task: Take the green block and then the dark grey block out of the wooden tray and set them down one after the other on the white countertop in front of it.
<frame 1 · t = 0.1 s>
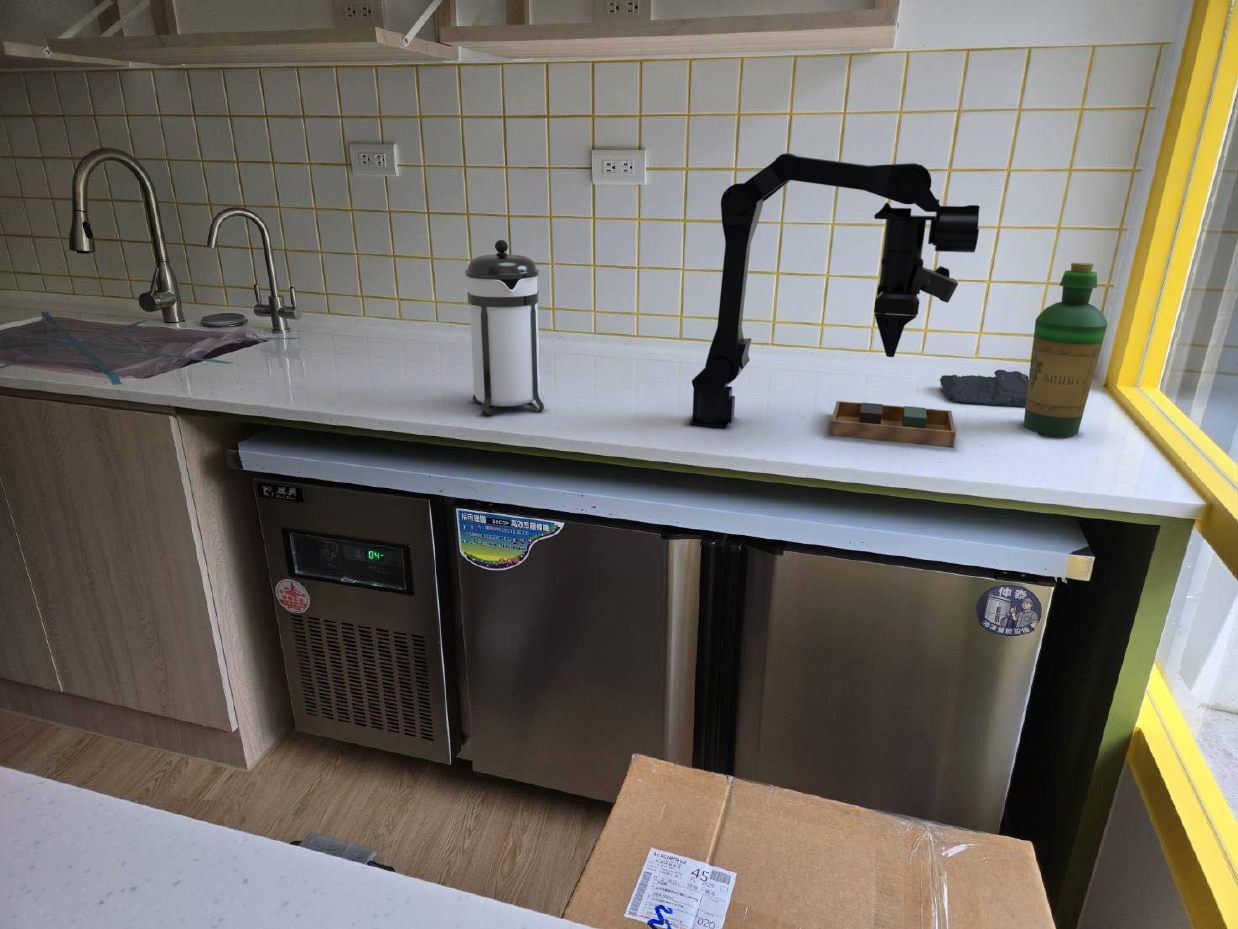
hand: (890, 351, 131), 15 cm above the countertop, tool pointing down, fingers open, 9 cm apart
coffee press: (504, 406, 153), on the countertop
wooden tray: (890, 432, 139), on the countertop
green block: (912, 431, 137), resting on wooden tray
bottle: (1049, 432, 140), on the countertop
dark slate chunk: (998, 397, 162), on the countertop
dark grey block: (869, 427, 140), resting on wooden tray
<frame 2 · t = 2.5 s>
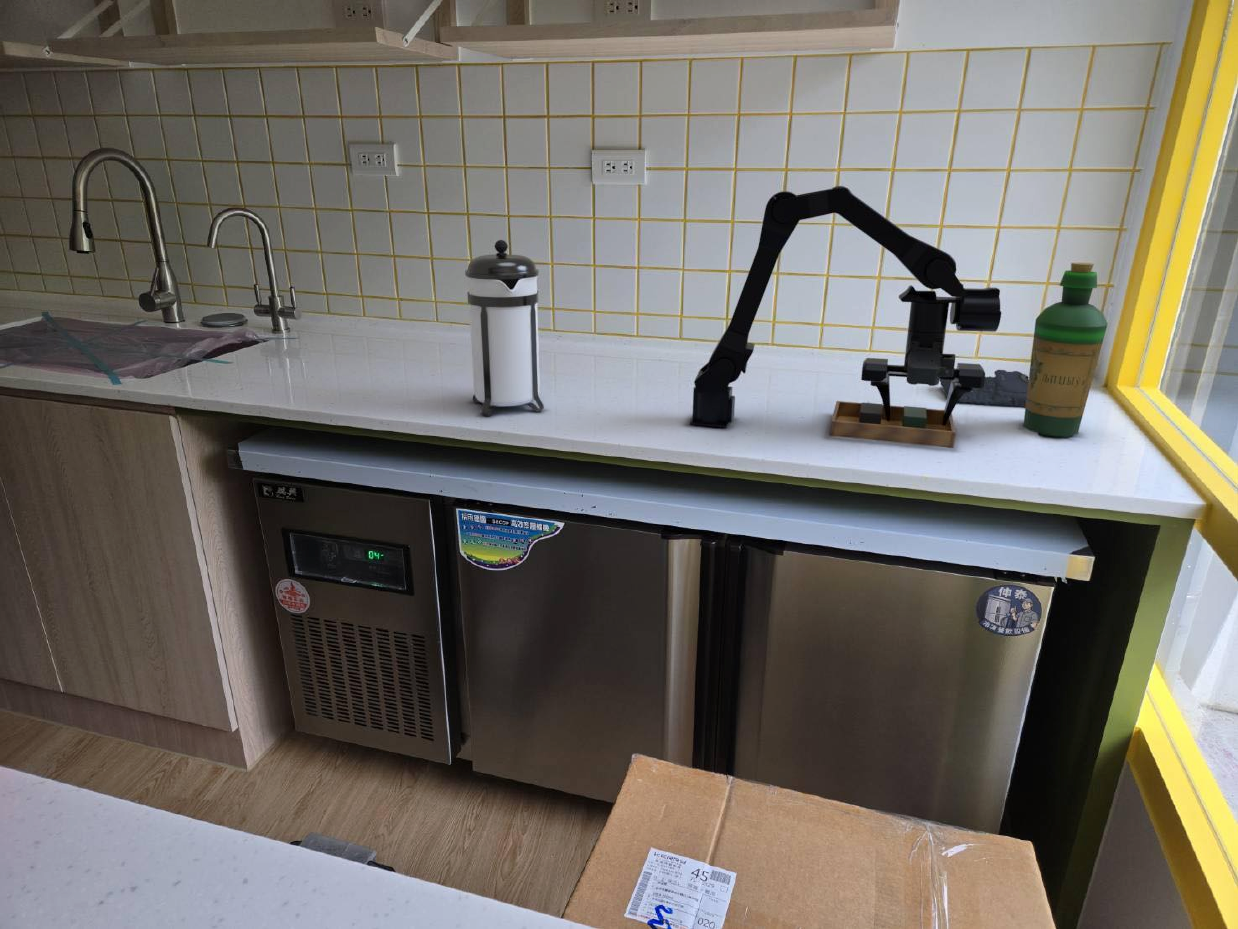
hand: (915, 422, 137), 2 cm above the countertop, tool pointing down, fingers open, 8 cm apart
dark grey block: (869, 427, 140), resting on wooden tray, touching gripper
everything else where it was.
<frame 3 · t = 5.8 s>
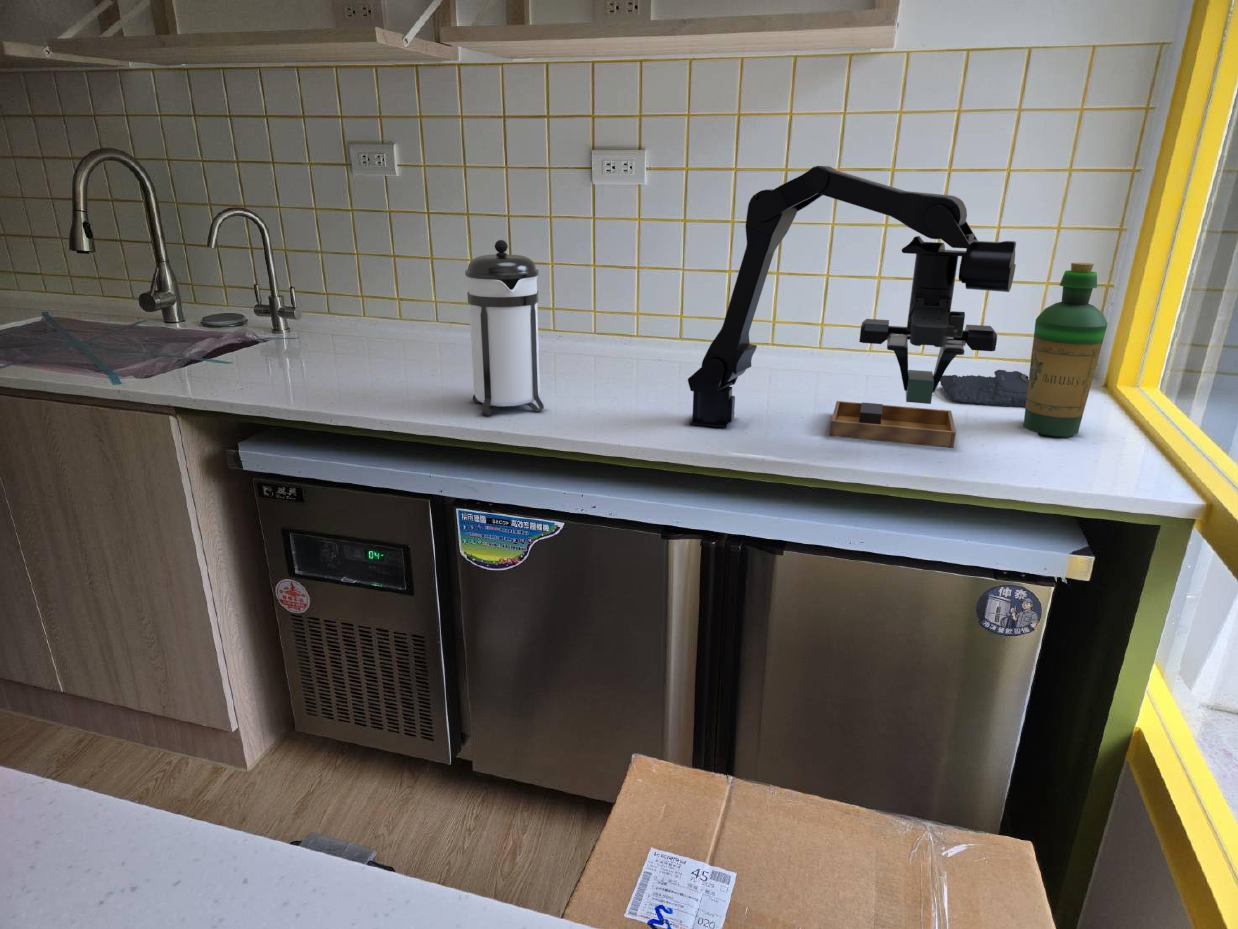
hand: (918, 391, 124), 10 cm above the countertop, tool pointing down, fingers closed on green block, 3 cm apart
green block: (917, 397, 124), point 9 cm above the countertop, touching gripper
dark grey block: (869, 427, 140), resting on wooden tray
everything else where it was.
when the fingers open (1 cm above the countertop, at t = 8.3 s): green block stays where it is, on the countertop.
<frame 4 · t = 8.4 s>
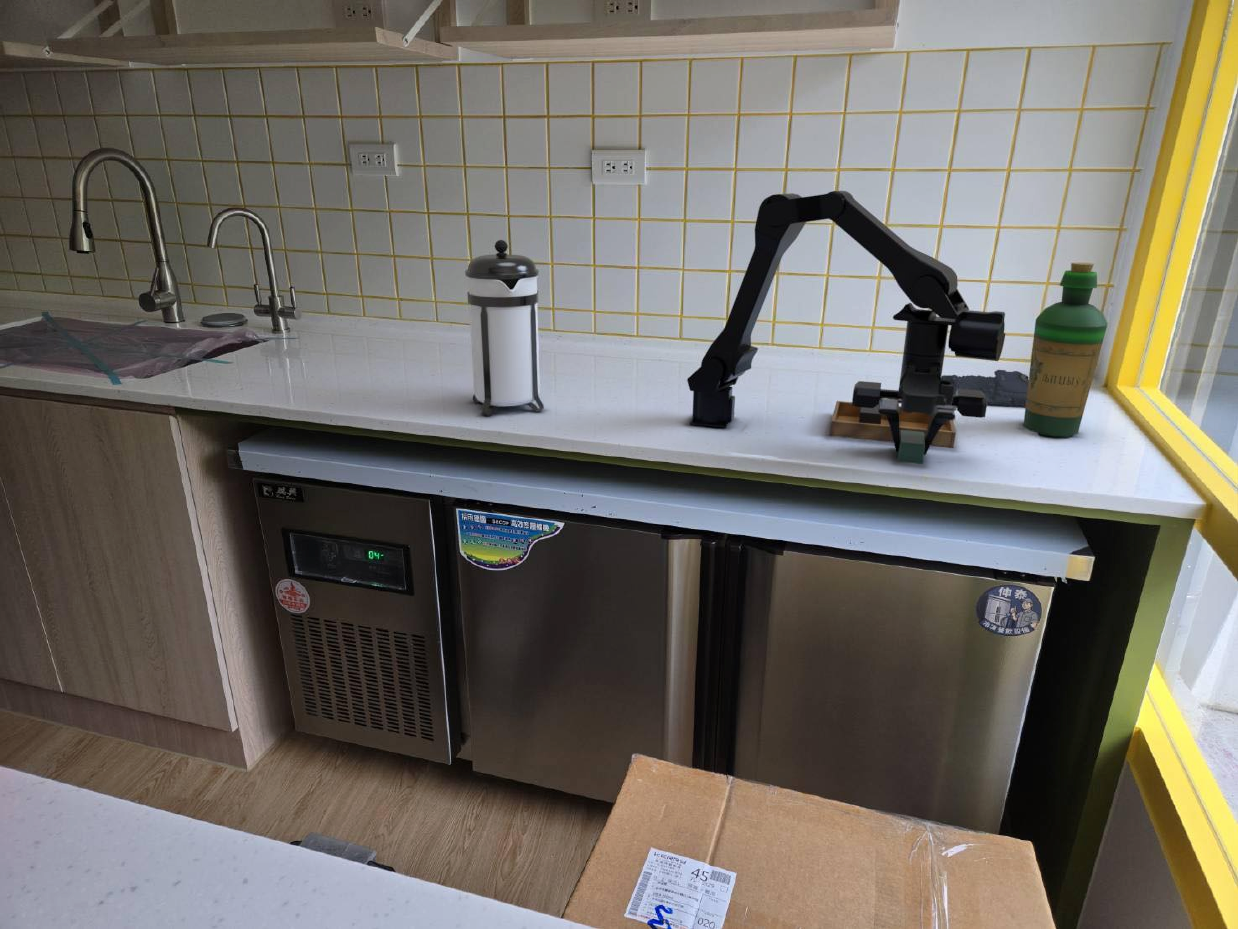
hand: (910, 452, 126), 1 cm above the countertop, tool pointing down, fingers open, 4 cm apart
green block: (909, 458, 126), on the countertop
everything else where it was.
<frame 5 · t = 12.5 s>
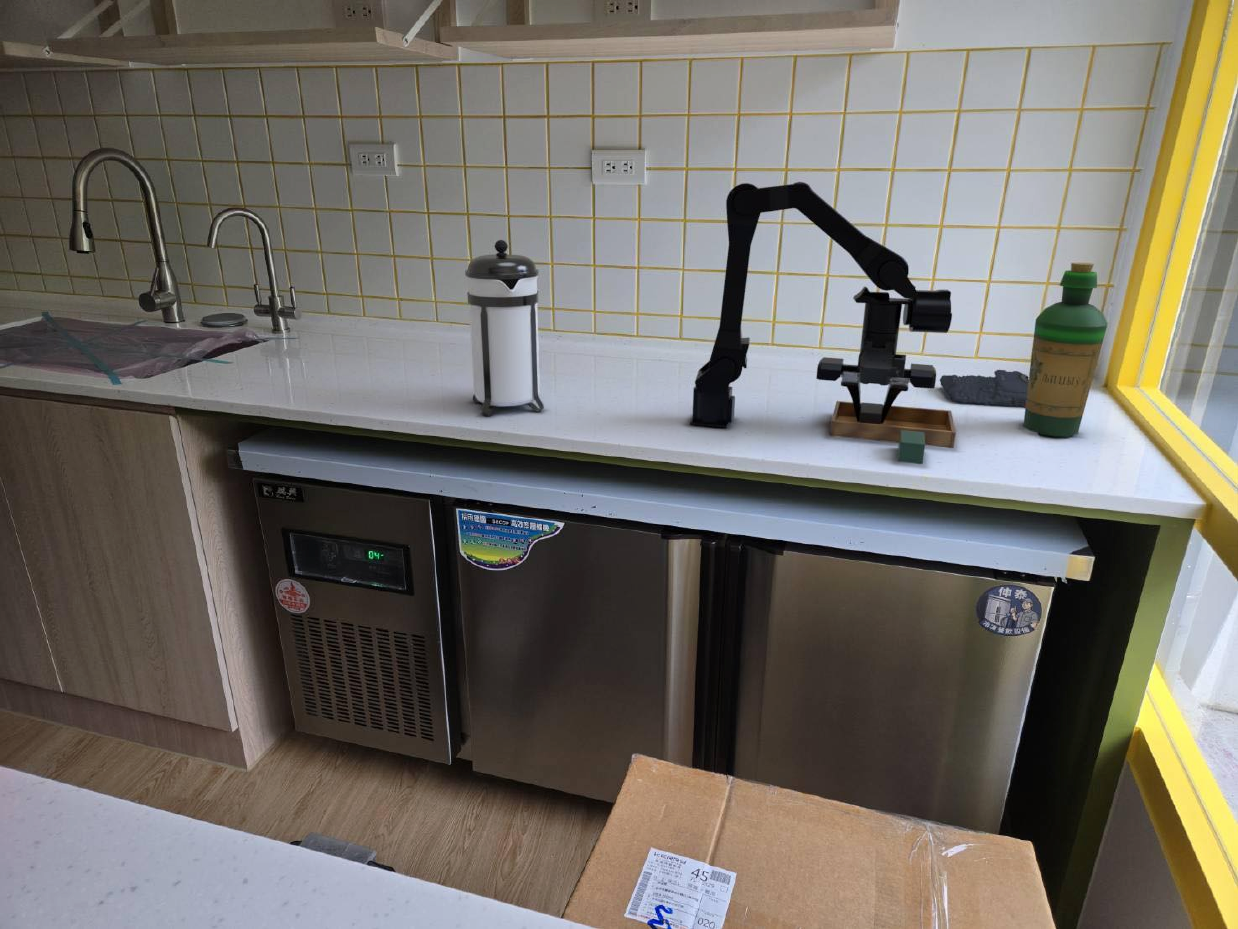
hand: (869, 422, 139), 2 cm above the countertop, tool pointing down, fingers closed on dark grey block, 3 cm apart
dark grey block: (869, 427, 140), resting on wooden tray, touching gripper
everything else where it was.
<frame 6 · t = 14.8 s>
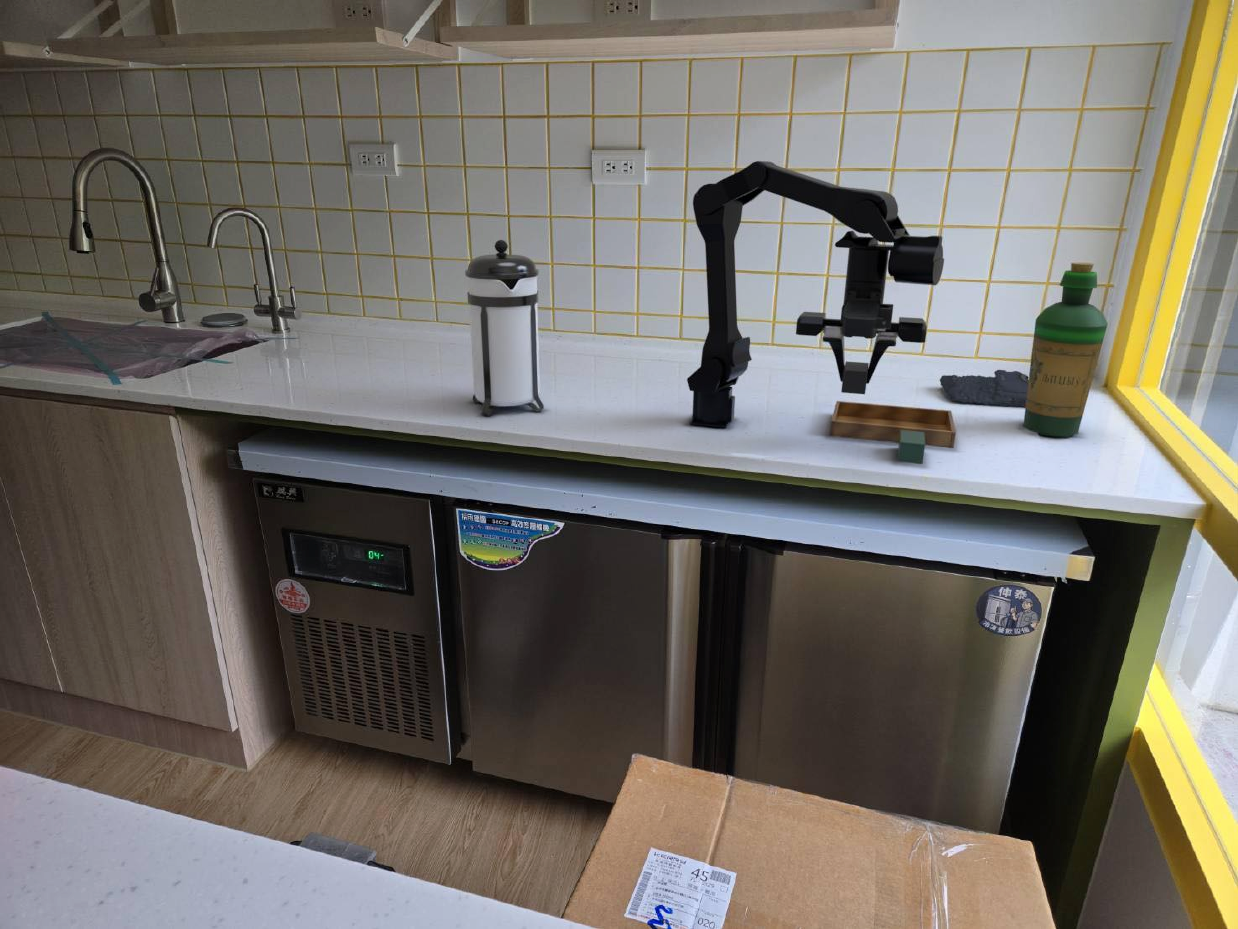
hand: (854, 382, 127), 11 cm above the countertop, tool pointing down, fingers closed on dark grey block, 3 cm apart
dark grey block: (854, 388, 128), point 10 cm above the countertop, touching gripper
everything else where it was.
when the fingers open (1 cm above the countertop, at t = 17.5 s): dark grey block stays where it is, on the countertop.
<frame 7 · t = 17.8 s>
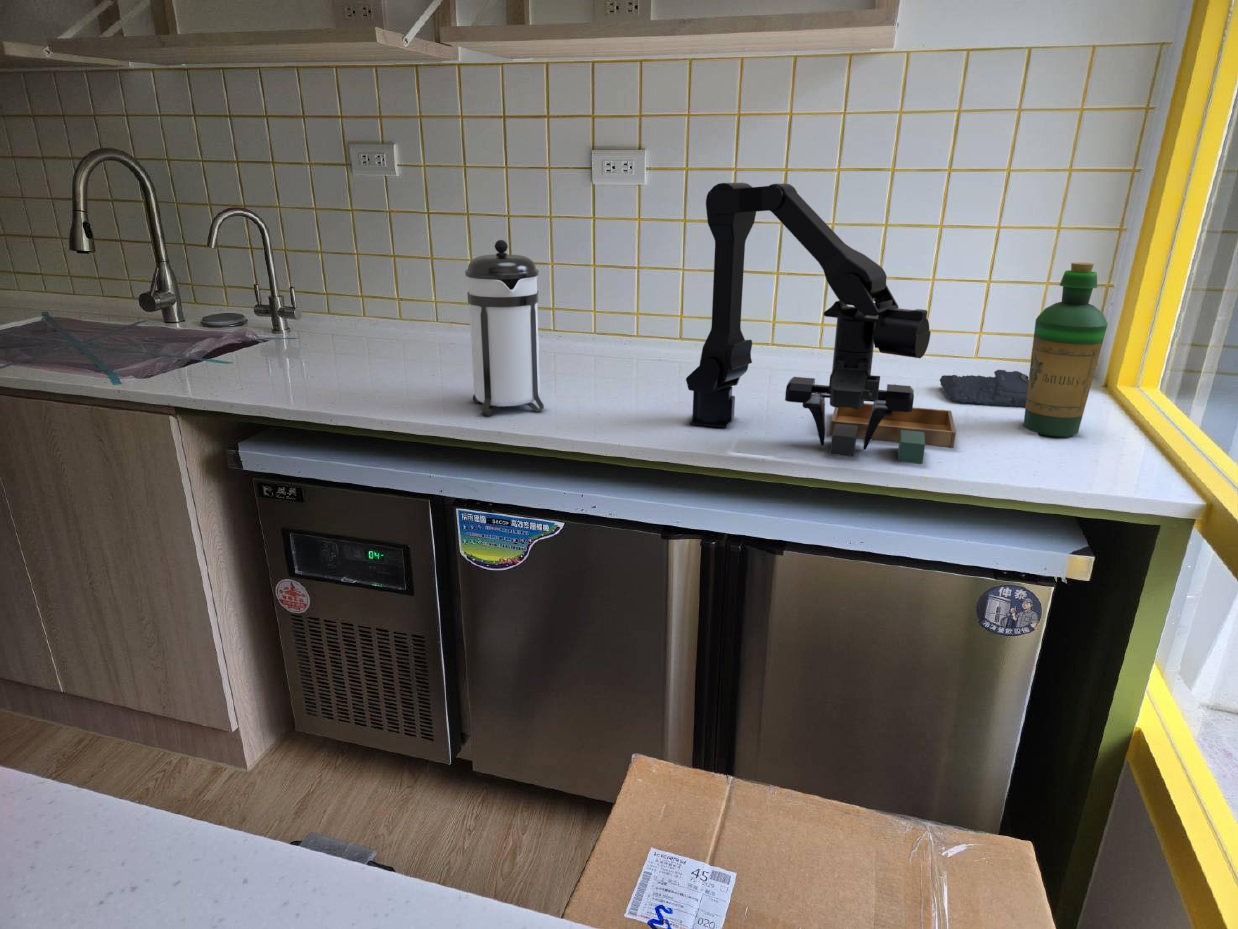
hand: (843, 446, 129), 1 cm above the countertop, tool pointing down, fingers open, 6 cm apart
dark grey block: (842, 451, 129), on the countertop
everything else where it was.
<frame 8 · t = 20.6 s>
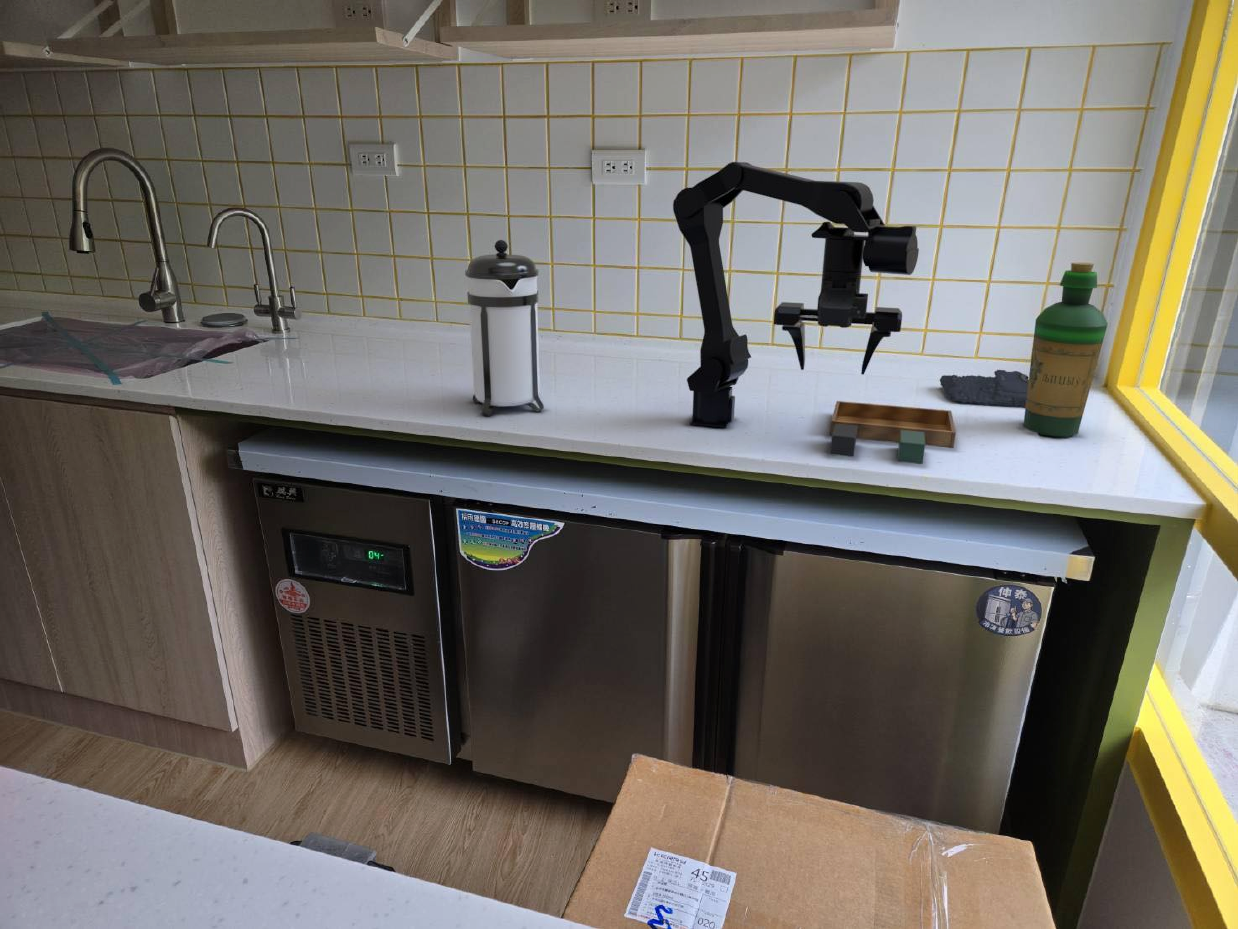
hand: (832, 371, 129), 12 cm above the countertop, tool pointing down, fingers open, 9 cm apart
nothing on the countertop moved.
at the end: green block inside the target area (1.0 cm from its centre), on the countertop; dark grey block inside the target area (1.0 cm from its centre), on the countertop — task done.
